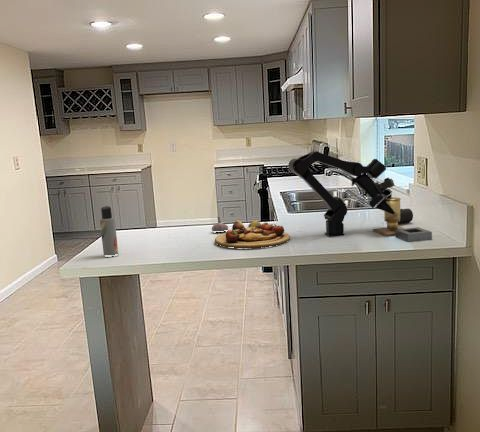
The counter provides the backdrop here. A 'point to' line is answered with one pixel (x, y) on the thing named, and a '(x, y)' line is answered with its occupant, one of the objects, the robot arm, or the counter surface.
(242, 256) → the counter surface
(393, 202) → the end plug
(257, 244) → the wooden plate with food
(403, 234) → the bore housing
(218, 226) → the garlic bulb
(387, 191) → the robot arm
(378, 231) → the walnut board
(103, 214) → the lotion bottle
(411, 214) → the end cap
